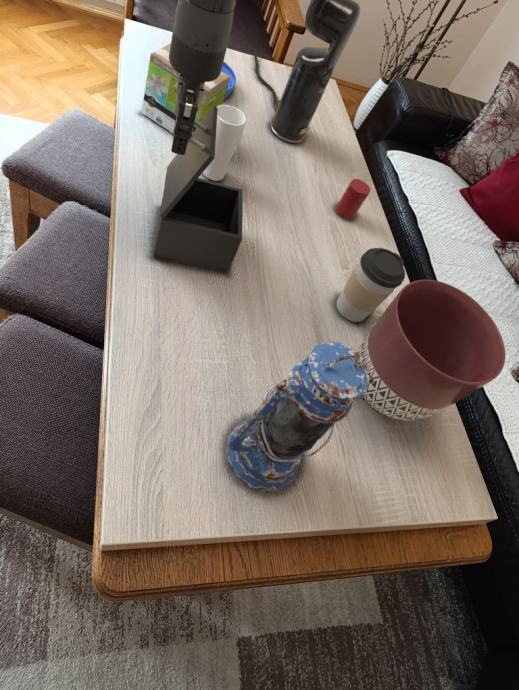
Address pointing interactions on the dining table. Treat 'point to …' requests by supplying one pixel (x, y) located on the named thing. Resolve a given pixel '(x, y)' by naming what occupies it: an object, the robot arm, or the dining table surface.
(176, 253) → the dark box
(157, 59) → the tea box
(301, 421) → the lantern
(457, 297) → the planter
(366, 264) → the coffee cup
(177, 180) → the box lid
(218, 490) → the dining table surface
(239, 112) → the white vase
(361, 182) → the red cup
